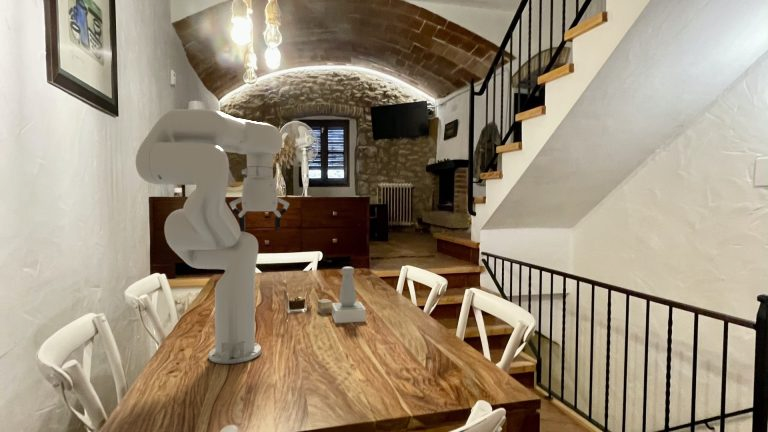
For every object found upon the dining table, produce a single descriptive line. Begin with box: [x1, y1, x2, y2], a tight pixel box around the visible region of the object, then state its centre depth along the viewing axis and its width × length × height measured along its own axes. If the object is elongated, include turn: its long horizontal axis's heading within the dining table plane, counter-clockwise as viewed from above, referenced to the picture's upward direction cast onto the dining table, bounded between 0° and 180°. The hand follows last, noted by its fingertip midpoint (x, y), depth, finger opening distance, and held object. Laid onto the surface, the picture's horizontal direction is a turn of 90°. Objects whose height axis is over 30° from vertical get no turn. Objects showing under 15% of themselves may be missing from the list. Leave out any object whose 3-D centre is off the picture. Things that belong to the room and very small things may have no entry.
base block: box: [331, 301, 367, 324], centre depth 137 cm, size 10×10×4 cm
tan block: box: [316, 298, 334, 315], centre depth 144 cm, size 4×4×4 cm
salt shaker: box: [339, 266, 357, 307], centre depth 137 cm, size 6×6×13 cm
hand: (260, 230), depth 124 cm, fingers open, 9 cm apart
